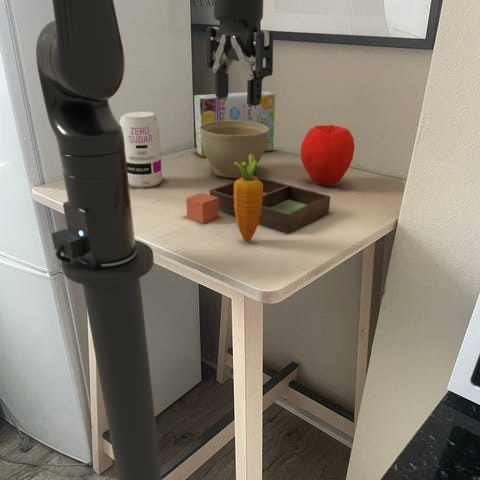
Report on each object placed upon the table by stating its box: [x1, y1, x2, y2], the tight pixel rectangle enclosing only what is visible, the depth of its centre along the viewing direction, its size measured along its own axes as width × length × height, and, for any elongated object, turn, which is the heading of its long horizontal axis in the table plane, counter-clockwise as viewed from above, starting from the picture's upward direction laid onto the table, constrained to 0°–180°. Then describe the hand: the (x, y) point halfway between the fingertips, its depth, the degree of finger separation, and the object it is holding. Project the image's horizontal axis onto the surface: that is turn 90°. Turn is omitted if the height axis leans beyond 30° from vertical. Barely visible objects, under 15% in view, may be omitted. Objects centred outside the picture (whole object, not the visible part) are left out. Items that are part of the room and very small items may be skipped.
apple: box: [299, 124, 355, 187], centre depth 112 cm, size 12×12×13 cm
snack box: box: [193, 90, 276, 158], centre depth 135 cm, size 21×6×15 cm, turn 111°
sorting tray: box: [208, 174, 331, 234], centre depth 101 cm, size 14×20×4 cm
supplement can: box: [118, 110, 163, 189], centre depth 111 cm, size 8×8×15 cm
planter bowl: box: [200, 120, 269, 179], centre depth 119 cm, size 16×16×11 cm
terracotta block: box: [185, 192, 220, 224], centre depth 97 cm, size 4×4×4 cm
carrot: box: [233, 154, 263, 243], centre depth 84 cm, size 5×5×15 cm
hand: (237, 101), depth 82 cm, fingers open, 8 cm apart
